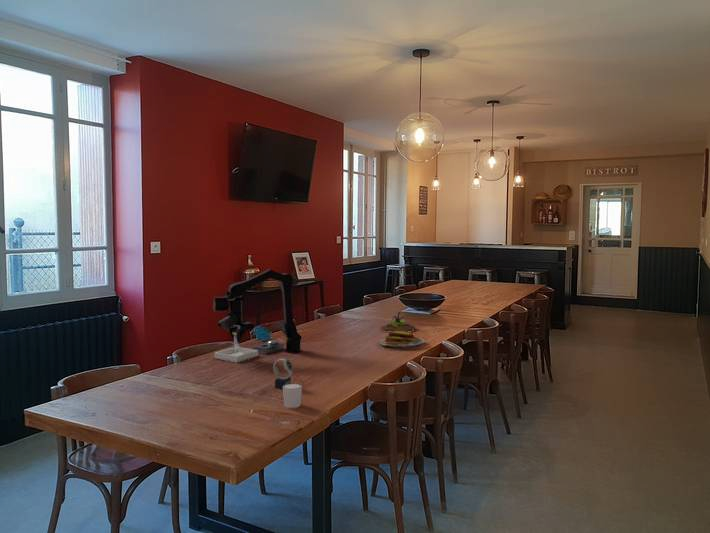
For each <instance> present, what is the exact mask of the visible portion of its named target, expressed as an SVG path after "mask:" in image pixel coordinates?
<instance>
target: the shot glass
mask: <svg viewBox="0 0 710 533" xmlns="http://www.w3.org/2000/svg"><path fill="white" fill-rule="evenodd" d="M282 392H283V394H282V395H283V404H284V407H285V408H287V409H295V408H299V407H300V406H301V401H302V392H303V386H302V385H301V384H299V383H291V384H287V385H284V386H283V389H282Z"/></svg>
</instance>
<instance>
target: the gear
mask: <svg viewBox="0 0 710 533" xmlns="http://www.w3.org/2000/svg"><path fill="white" fill-rule="evenodd" d="M253 332H254V333H253V335H254V336H256V337H255V338H256V339H257V340H258V339H259V341H263V342H267V340H268V341H269V340H270V338H271V335H272V331H269V329H268V328H266V327H264V326H261V325H259V326H255V327H254V329H253Z"/></svg>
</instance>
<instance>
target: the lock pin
mask: <svg viewBox="0 0 710 533" xmlns="http://www.w3.org/2000/svg"><path fill="white" fill-rule="evenodd" d="M232 334H233V335H234V342H233V347H234V352H239V347H240V343H238V340H237V332H236V330H234V331H232Z"/></svg>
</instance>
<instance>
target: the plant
mask: <svg viewBox="0 0 710 533" xmlns="http://www.w3.org/2000/svg"><path fill="white" fill-rule="evenodd" d="M401 314H402V312H401V311H398V313H397V315H394V316H392V317H391V320H390V321H389V322H390V323H387V324H385V325H382V326H380V331H381V330H383V331H407V332H408V331H412V330H413V329H415V330H416V326H415V325H413V324H410V323H406V320H407V318H406V317H405V316H401V317H400V315H401ZM401 319H402V320H401ZM383 331H382V332H383Z"/></svg>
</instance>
